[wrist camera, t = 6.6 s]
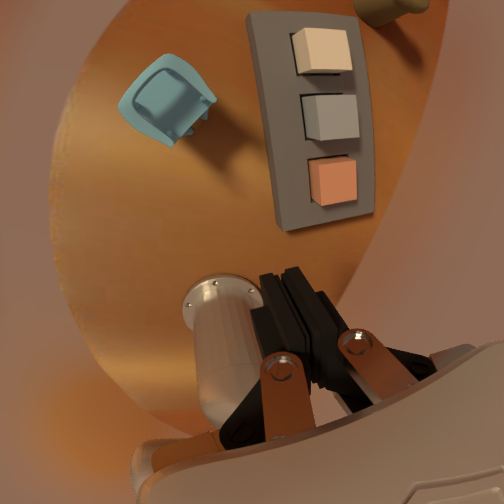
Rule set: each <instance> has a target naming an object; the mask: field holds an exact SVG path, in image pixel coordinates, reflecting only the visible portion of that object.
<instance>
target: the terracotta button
mask: <svg viewBox="0 0 504 504" xmlns="http://www.w3.org/2000/svg"><path fill="white" fill-rule="evenodd" d="M307 163H308V174H309V186H310V198H312V199H313V200H314V201H316V202H317V203H318V204H320V205H321V206H324V205H329V204H334V203H339V202H345V201H350V200H356V199H357V178H356V160H353V159H350V158H347V157H345V156H342V155H336V156H328V157H320V158H312V159H307Z"/></svg>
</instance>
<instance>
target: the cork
mask: <svg viewBox="0 0 504 504" xmlns="http://www.w3.org/2000/svg"><path fill="white" fill-rule="evenodd" d="M429 4H430V3H429V0H354V9H355V11H356V13H357V15H358V16H359V17H360V18H361V19H362V21H364V22H365V23H366V24H368V25H370V26H373V27H382V26H384V25H385V24H387V23H389V22H391V21H393V20H395V19H397V18H399V17H401V16H403V15H405V14H407V13H409V12H410V13H414V14H417V13H423V12H425V11H426V10H427V9H428V7H429Z"/></svg>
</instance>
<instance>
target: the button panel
mask: <svg viewBox="0 0 504 504" xmlns="http://www.w3.org/2000/svg"><path fill="white" fill-rule="evenodd" d="M245 21H246V26H247V32H248V37H249V43H250V49H251V54H252V60H253V66H254V72H255V78H256V84H257V90H258V96H259V103H260V109H261V116H262V122H263V129H264V135H265V142H266V149H267V156H268V163H269V171H270V178H271V186H272V193H273V201H274V209H275V217H276V224H277V225H278V226H279V228H280V229H281V230H282V232H285V231H289V230H294V229H298V228H303V227H307V226H312V225H317V224H321V223H326V222H331V221H335V220H340V219H345V218H349V217H354V216H359V215H363V214H368V213H373V212H374V200H375V168H374V140H373V123H372V111H371V100H370V91H369V83H368V75H367V68H366V61H365V55H364V49H363V44H362V38H361V33H360V28H359V24H358V19H357V17H351V16H344V15H336V14H327V13H315V12H297V11H261V12H250V13H249V14H248V16H247V18H246V19H245ZM303 28H322V29H335V30H345V31H346V35H347V40H348V45H349V51H350V57H351V63H352V70H350V71H345V72H340V73H302V74H298V69H297V63H296V57H295V51H294V46H293V40H292V36H293V35H294V34H296V33H297V32H299V31H300V30H302V29H303ZM318 95H356V101H357V111H358V122H359V135H360V137H356V138H343V139H332V140H322V141H320V140H316V139H312V138H308V137H307V136H306V127H305V119H304V111H303V103H302V97H308V96H318ZM336 155H342V156H345V157H347V158H350V159H353V160H356V178H357V199H356V200H350V201H345V202H339V203H334V204H329V205H324V206H321V205H320V204H318V203H317V202H316V201H314V200H313V199H312V198H310V186H309V174H308V163H307V159H312V158H320V157H328V156H336Z"/></svg>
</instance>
